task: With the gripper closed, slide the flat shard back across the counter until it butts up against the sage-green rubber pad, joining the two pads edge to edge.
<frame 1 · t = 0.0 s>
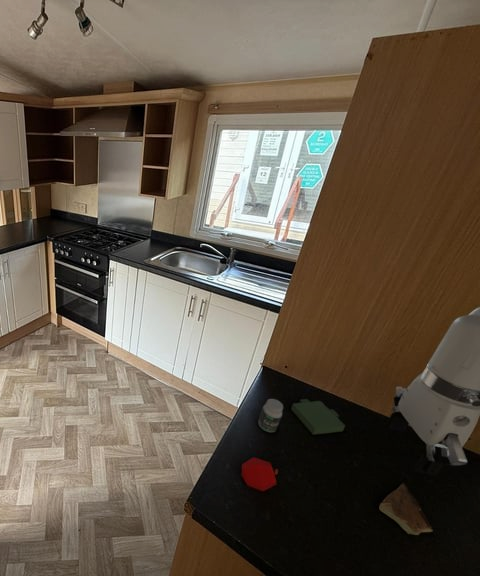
hand: (408, 448, 62), 18 cm above the worktop, tool pointing down, fingers open, 9 cm apart
pill bottle: (267, 426, 88), on the worktop
rubber pad: (315, 419, 90), on the worktop
apple: (255, 482, 74), on the worktop
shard: (396, 508, 69), on the worktop
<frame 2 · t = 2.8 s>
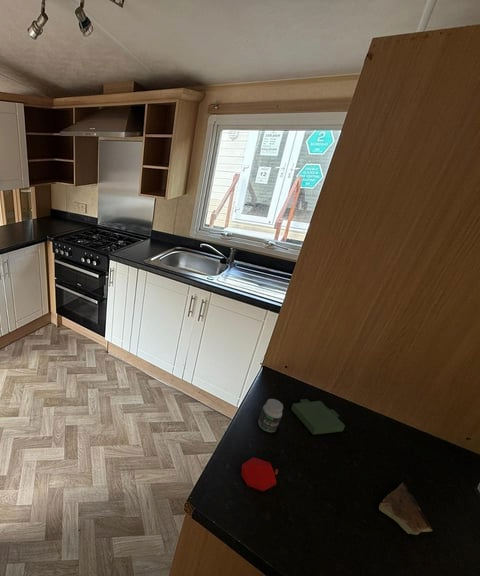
nothing on the worktop moved.
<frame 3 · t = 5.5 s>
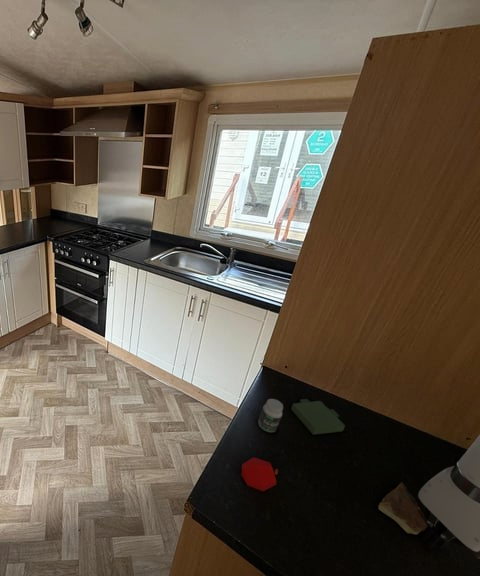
hand: (432, 542, 62), 1 cm above the worktop, tool pointing down, fingers closed
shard: (395, 507, 69), on the worktop, touching gripper
everything else where it was.
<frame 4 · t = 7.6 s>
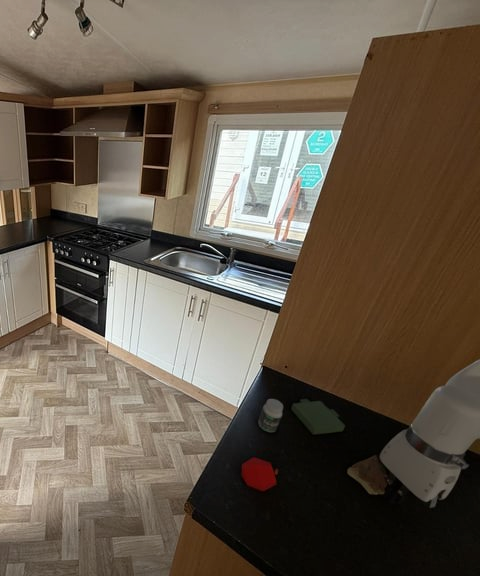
hand: (391, 498, 69), 1 cm above the worktop, tool pointing down, fingers closed
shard: (364, 474, 76), on the worktop, touching gripper
everything else where it was.
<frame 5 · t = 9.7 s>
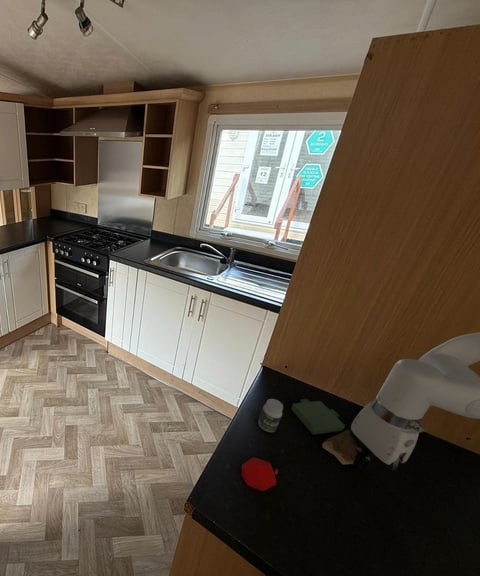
hand: (361, 465, 76), 2 cm above the worktop, tool pointing down, fingers closed
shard: (337, 447, 82), on the worktop, touching gripper
everything else where it was.
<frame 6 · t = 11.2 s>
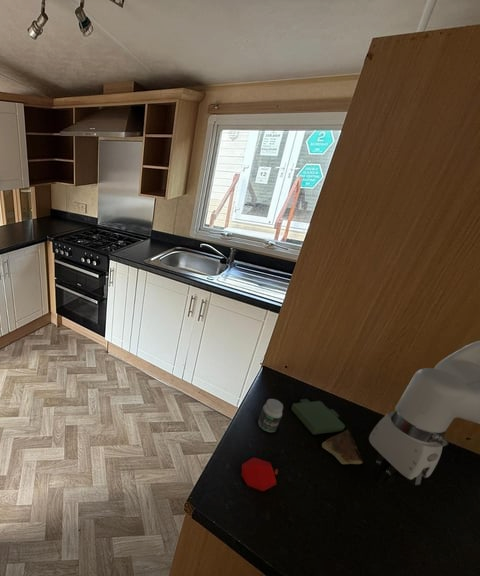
hand: (380, 479, 72), 2 cm above the worktop, tool pointing down, fingers closed
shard: (337, 447, 82), on the worktop
everything else where it was.
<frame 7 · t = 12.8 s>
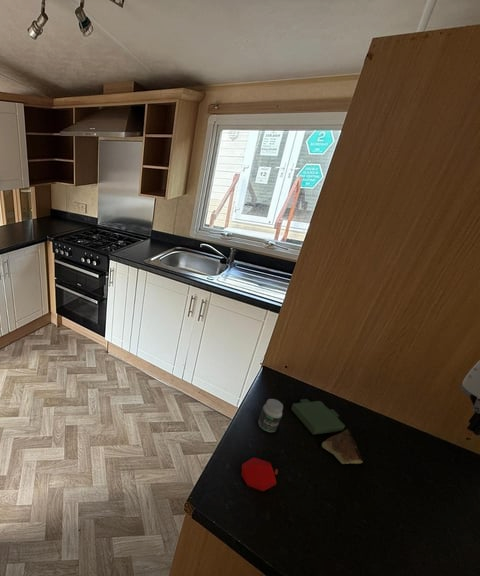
hand: (478, 431, 61), 22 cm above the worktop, tool pointing down, fingers closed
nothing on the worktop moved.
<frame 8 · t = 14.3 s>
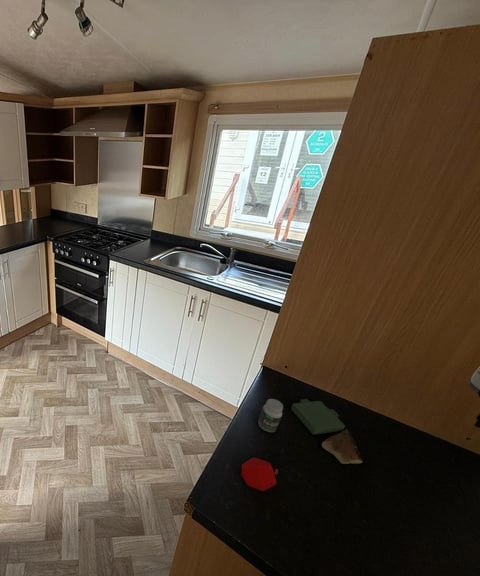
nothing on the worktop moved.
at the end: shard 8.5 cm from the rubber pad (horizontally); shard moved 15.3 cm from its start; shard on the worktop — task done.
